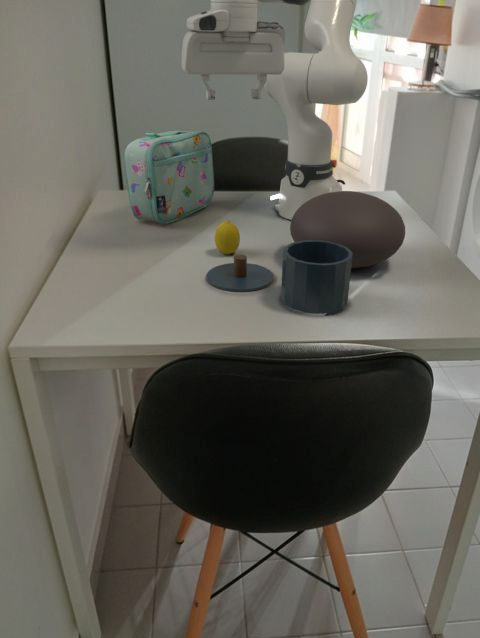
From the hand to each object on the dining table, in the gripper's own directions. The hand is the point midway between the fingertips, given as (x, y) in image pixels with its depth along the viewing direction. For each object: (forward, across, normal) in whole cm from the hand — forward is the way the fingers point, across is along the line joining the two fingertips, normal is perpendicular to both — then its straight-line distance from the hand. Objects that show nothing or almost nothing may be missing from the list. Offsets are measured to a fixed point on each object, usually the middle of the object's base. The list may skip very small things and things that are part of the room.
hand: (233, 99), depth 122 cm
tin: (+32, -8, +29) cm, 44 cm away
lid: (+32, +3, +16) cm, 36 cm away
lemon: (+32, +2, +2) cm, 33 cm away
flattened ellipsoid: (+32, -22, +12) cm, 41 cm away
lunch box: (+32, +8, -30) cm, 44 cm away
